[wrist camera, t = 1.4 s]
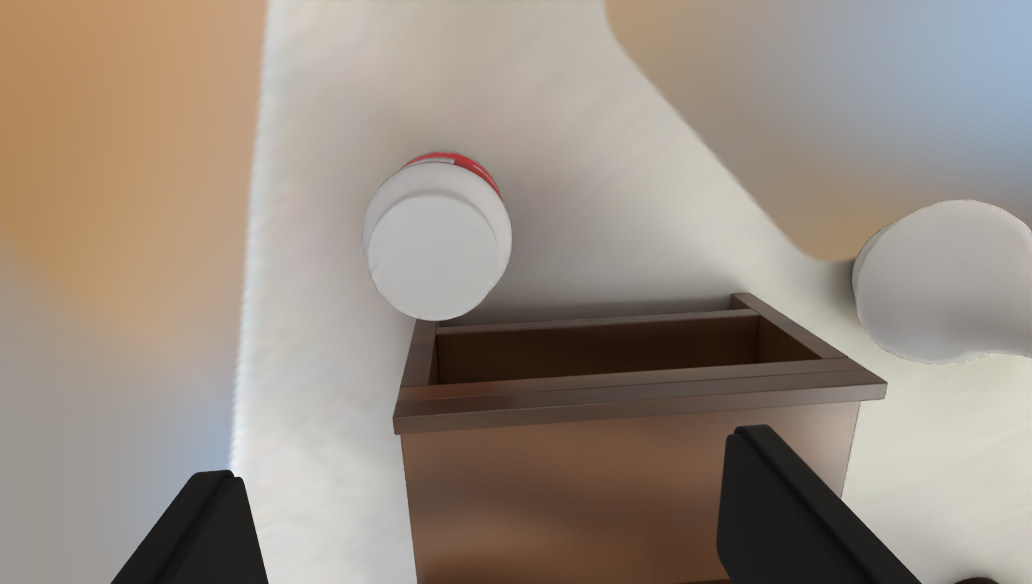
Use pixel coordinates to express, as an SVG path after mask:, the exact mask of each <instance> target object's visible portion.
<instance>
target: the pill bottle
mask: <svg viewBox="0 0 1032 584" xmlns="http://www.w3.org/2000/svg"><path fill="white" fill-rule="evenodd" d="M362 244H363V250H364V255H365V259H366V261H367V264H368V269H369V273H370V276H371V278H372V281H373V283H374V285H375V287H376V288H377V290H378V291H379V293H380V294H381V295H382V297H383V298H384V299H385V300H386V301H387V302H388V303H389V304H391V305H392V306H393V307H394V308H396V309H397V310H399V311H400V312H402V313H404V314H406V315H409V316H411V317H414V318H417V319H422V320H430V321H441V320H447V319H452V318H455V317H458V316H461V315H463V314H465V313H467V312H468V311H470V310H472V309H473V308H475V307H476V306H477V305H478V304H479V303H480V302H481V301H482V300H483V299H484V298H485V297H486V295H487V294H488V293H489V291H490V290H491V289H492V288H493V287H494V286H495V285H496V284H497V283H498V281H499V280H500V278H501V277H502V275H503V273H504V271H505V269H506V267H507V265H508V262H509V258H510V254H511V248H512V230H511V223H510V219H509V216H508V213H507V210H506V207H505V205H504V203H503V200H502V197H501V195H500V192H499V190H498V187H497V185H496V184H495V182H494V180H493V178H492V177H491V176H490V174H489V173H488V172H487V171H486V170H485V169H484V168H483V167H482V166H481V165H480V164H479V163H478V162H476V161H475V160H473V159H471V158H469V157H467V156H465V155H462V154H459V153H455V152H449V151H436V152H430V153H427V154H424V155H421V156H419V157H416V158H415V159H413V160H411V161H410V162H408V163H407V164H406V165H404V166H403V167H402V168H401V169H400V170H398V171H397V172H396V173H395V174H394V175H392V176H391V177H390V178H389V179H387V180H386V181H385V182H384V183H383V184H382V185H381V186H380V187H379V189H378V190H377V191H376V192H375V194H374V196H373V197H372V199H371V200H370V202H369V204H368V206H367V209H366V212H365V215H364V219H363V224H362Z"/></svg>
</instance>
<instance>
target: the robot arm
mask: <svg viewBox="0 0 1032 584" xmlns="http://www.w3.org/2000/svg"><path fill="white" fill-rule="evenodd" d="M716 549H717V553H718V557H719V560H720V562H721V564H722V566H723V567H724V569H725V571H726V573H727V574H728V576H729V578H730V580H731V582H732V583H733V584H922V583H921V582H920V581H919V580H918V579H917V578H916V577H915V576H914V575H913V574H912V573H911V572H910V571H909V570H908V569H907V568H906V567H905V566H904V565H903V564H902V562H901V561H900V560H899V559H898V558H897V557H896V556H895V555H894V554H893V553H892V552H891V551H890V550H889V549H888V548H887V547H886V546H885V545H884V544H883V543H882V542H881V541H880V540H879V539H878V538H877V537H876V535H875V534H874V533H873V532H872V531H871V530H870V529H869V528H868V527H867V526H866V525H865V524H864V523H863V522H862V521H861V520H860V519H859V518H858V517H857V516H856V515H855V514H854V513H853V512H852V511H851V510H850V508H849V507H848V506H847V505H846V504H845V503H844V502H843V501H842V500H841V499H840V498H839V497H838V496H837V495H836V494H835V493H834V492H833V491H832V490H831V489H830V488H829V487H828V486H827V485H826V484H825V483H824V482H823V480H822V479H821V478H820V477H819V476H818V475H817V474H816V473H815V472H814V471H813V470H812V469H811V468H810V467H809V466H808V465H807V464H806V463H805V462H804V461H803V460H802V459H801V458H800V457H799V456H798V455H797V453H796V452H795V451H794V450H793V449H792V448H791V447H790V446H789V445H788V444H787V443H786V442H785V441H784V440H783V439H782V438H781V437H780V436H779V435H778V434H777V433H776V432H775V431H774V430H773V429H772V428H771V427H770V426H769V425H767V424H758V425H747V426H738V427H736V428H735V430H734V434H730V435H728V436H727V438H726V444H725V454H724V465H723V475H722V485H721V495H720V505H719V515H718V526H717V536H716ZM111 584H269V583H268V579H267V575H266V571H265V567H264V563H263V559H262V555H261V550H260V546H259V542H258V538H257V534H256V530H255V526H254V522H253V517H252V513H251V509H250V505H249V501H248V497H247V493H246V489H245V484H244V481H243V479H242V478H241V477H234V474H233V473H232V472H231V471H230V470H219V471H208V472H198V473H195V474H194V475H193V476H192V477H191V478H190V479H189V480H188V482H187V483H186V484H185V486H184V487H183V488H182V490H181V491H180V492H179V494H178V495H177V496H176V497H175V499H174V500H173V501H172V503H171V504H170V506H169V507H168V508H167V509H166V511H165V512H164V513H163V515H162V516H161V517H160V519H159V520H158V521H157V523H156V524H155V525H154V527H153V528H152V530H151V531H150V532H149V533H148V535H147V536H146V537H145V539H144V540H143V541H142V543H141V544H140V545H139V546H138V548H137V549H136V551H135V552H134V553H133V554H132V556H131V557H130V558H129V560H128V561H127V562H126V564H125V565H124V566H123V568H122V569H121V570H120V572H119V573H118V574H117V576H116V577H115V578H114V580H113V581H112V582H111Z"/></svg>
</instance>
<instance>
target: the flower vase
mask: <svg viewBox="0 0 1032 584" xmlns="http://www.w3.org/2000/svg"><path fill="white" fill-rule="evenodd" d="M851 278H852V288H853V291H854V294H855V301H856V310H857V314H858V316H859V319H860V321H861V323H862V326H863V328H864V330H865V332H866V333H867V334H868V335H869V336H870V338H871V339H872V340H873V341H874V342H875V343H876V344H877V345H878V346H879V347H880V348H882V349H883V350H885V351H887V352H889V353H891V354H893V355H894V356H896V357H898V358H901V359H904V360H908V361H913V362H918V363H923V364H929V365H945V364H958V363H965V362H969V361H972V360H975V359H978V358H982V357H985V356H988V355H990V354H1004V355H1015V356H1021V357H1026V358H1030V359H1032V232H1031V231H1030V229H1029V228H1028V227H1027V225H1025V223H1023V222H1022V221H1020V220H1018V219H1017V218H1016V217H1014V216H1013V215H1011V214H1010V213H1008V212H1007V211H1005V210H1003V209H1001V208H999V207H997V206H994V205H991V204H986V203H983V202H979V201H975V200H952V201H951V200H950V201H941V202H938V203H935V204H932V205H929V206H926V207H923V208H920V209H917V210H915V211H913V212H912V213H910V214H908V215H907V216H905V217H903V218H902V219H900V220H898V221H896V222H895V223H892V224H889V225H887V226H886V227H884V228H882V229H881V230H879V231H878V232H876V233H875V234H874V235H873V236H872V237H871V238H870V239H869V240H868V241H867V242H866V243H865V245H864V246H863V248H862V249H861V250H860V252H859V254H858V256H857V258H856V260H855V263H854V265H853V271H852V277H851Z"/></svg>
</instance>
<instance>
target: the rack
mask: <svg viewBox="0 0 1032 584" xmlns="http://www.w3.org/2000/svg"><path fill="white" fill-rule="evenodd" d="M887 384H888V383H887V382H886V381H885V380H883V379H882V378H880V377H879V376H877V375H875V374H874V373H872V372H871V371H869V370H867V369H866V368H864V367H863V366H861V365H860V364H858V363H857V362H855V361H854V360H852V359H850V358H849V357H848V356H846V355H845V354H843V353H842V352H840V351H839V350H837V349H835V348H834V347H832V346H831V345H829V344H828V343H826V342H825V341H823V340H822V339H820V338H819V337H817V336H815V335H814V334H812V333H811V332H809V331H808V330H806V329H805V328H803V327H802V326H800V325H799V324H797V323H795V322H794V321H792V320H791V319H789V318H788V317H786V316H785V315H783V314H782V313H780V312H779V311H777V310H775V309H774V308H772V307H771V306H769V305H768V304H766V303H765V302H763V301H762V300H760V299H759V298H757V297H755V296H754V295H752V294H751V293H742V294H732V295H731V304H730V310H723V311H706V312H689V313H673V314H656V315H639V316H622V317H605V318H588V319H571V320H555V321H538V322H521V323H504V324H487V325H470V326H454V327H440V321H430V320H422V319H416V324H415V328H414V332H413V336H412V340H411V344H410V348H409V352H408V356H407V361H406V365H405V369H404V373H403V377H402V381H401V385H400V390H399V394H398V398H397V402H396V406H395V410H394V414H393V426H394V434H395V435H400V436H401V445H402V454H403V462H404V471H405V480H406V489H407V497H408V506H409V515H410V523H411V532H412V541H413V550H414V558H415V567H416V576H417V584H733V583H732V582H731V580H730V578H729V576H728V574H727V573H726V571H725V569H724V567H723V566H722V564H721V562H720V560H719V557H718V553H717V549H716V536H717V526H718V515H719V505H720V495H721V485H722V475H723V465H724V454H725V444H726V438H727V436H728V435H730V434H734V430H735V428H736V427H738V426H747V425H758V424H767V425H769V426H770V427H771V428H772V429H773V430H774V431H775V432H776V433H777V434H778V435H779V436H780V437H781V438H782V439H783V440H784V441H785V442H786V443H787V444H788V445H789V446H790V447H791V448H792V449H793V450H794V451H795V452H796V453H797V455H798V456H799V457H800V458H801V459H802V460H803V461H804V462H805V463H806V464H807V465H808V466H809V467H810V468H811V469H812V470H813V471H814V472H815V473H816V474H817V475H818V476H819V477H820V478H821V479H822V480H823V482H824V483H825V484H826V485H827V486H828V487H829V488H830V489H831V490H832V491H833V492H834V493H835V494H836V495H837V496H838V497H839V498H840V499H841V496H842V491H843V487H844V482H845V477H846V472H847V467H848V462H849V457H850V452H851V447H852V442H853V437H854V432H855V427H856V422H857V417H858V412H859V407H860V402H861V401H866V400H879V399H884V398H885V394H886V389H887Z"/></svg>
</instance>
